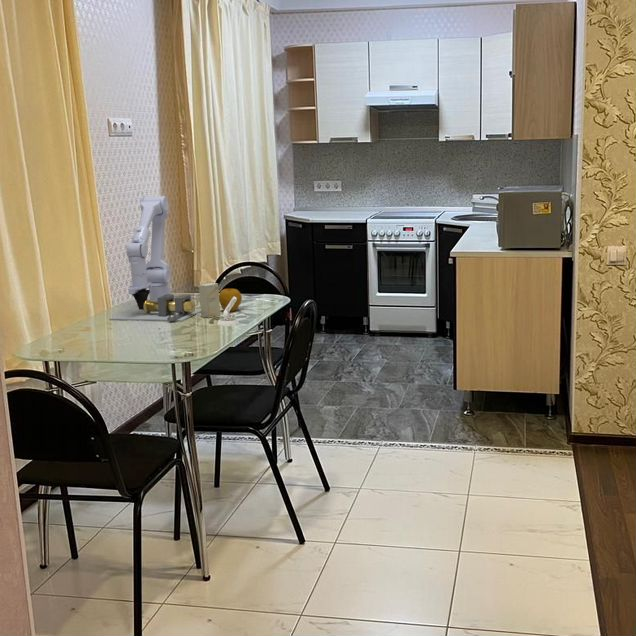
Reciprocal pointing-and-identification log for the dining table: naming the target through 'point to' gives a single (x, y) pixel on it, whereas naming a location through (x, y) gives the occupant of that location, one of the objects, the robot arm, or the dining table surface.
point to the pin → (153, 306)
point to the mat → (147, 316)
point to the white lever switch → (228, 315)
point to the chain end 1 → (164, 304)
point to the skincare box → (209, 300)
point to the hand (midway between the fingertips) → (142, 309)
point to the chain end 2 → (180, 307)
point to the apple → (229, 298)
